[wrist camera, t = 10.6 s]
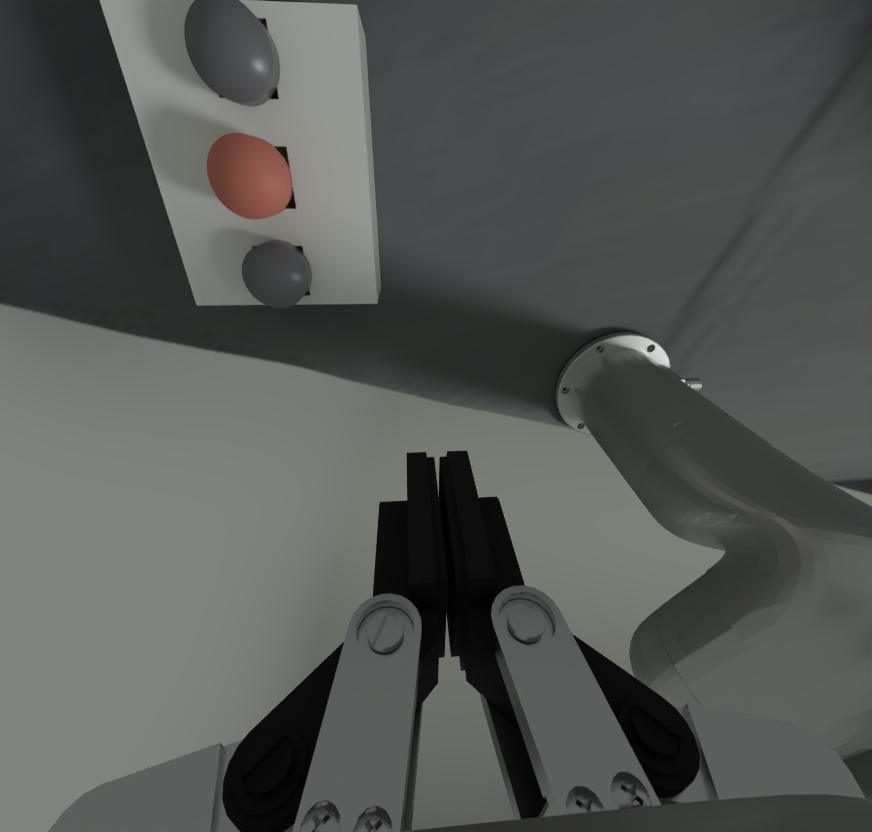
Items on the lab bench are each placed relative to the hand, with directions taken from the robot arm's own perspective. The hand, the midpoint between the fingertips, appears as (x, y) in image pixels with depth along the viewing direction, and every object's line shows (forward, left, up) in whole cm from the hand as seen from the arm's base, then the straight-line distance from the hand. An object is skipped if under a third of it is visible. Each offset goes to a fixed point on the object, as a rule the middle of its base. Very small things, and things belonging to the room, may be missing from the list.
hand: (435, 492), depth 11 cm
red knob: (+10, -7, -25) cm, 28 cm away
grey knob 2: (+10, -2, -27) cm, 28 cm away
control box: (+10, -8, -29) cm, 32 cm away
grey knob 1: (+10, -13, -26) cm, 31 cm away
